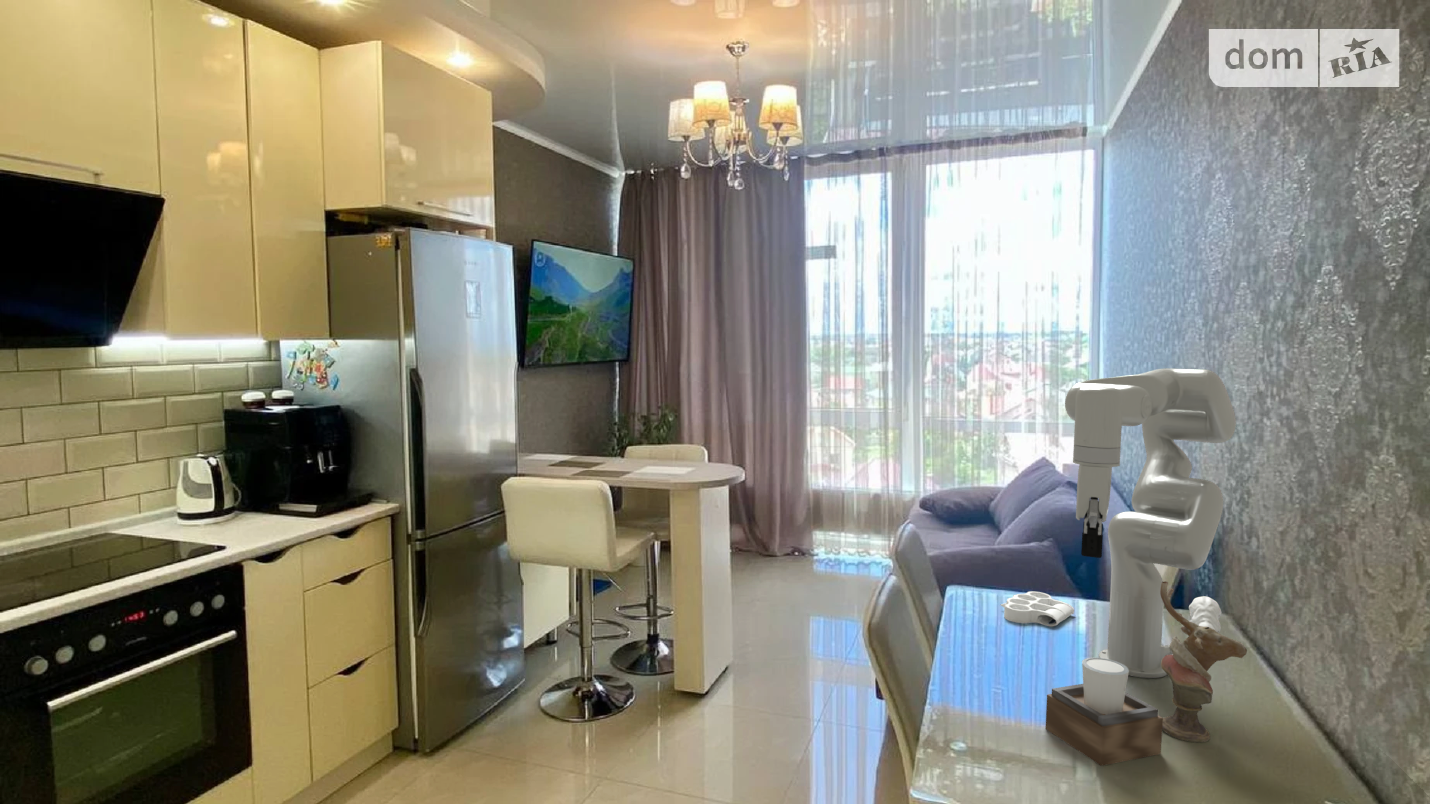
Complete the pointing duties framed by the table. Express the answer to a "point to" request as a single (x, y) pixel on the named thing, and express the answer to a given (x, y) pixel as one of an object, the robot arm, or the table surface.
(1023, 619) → the white flat perforated piece
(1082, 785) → the table surface
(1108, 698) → the white short cylinder
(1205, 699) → the decorative bust
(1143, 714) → the display riser
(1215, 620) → the white lumpy piece
